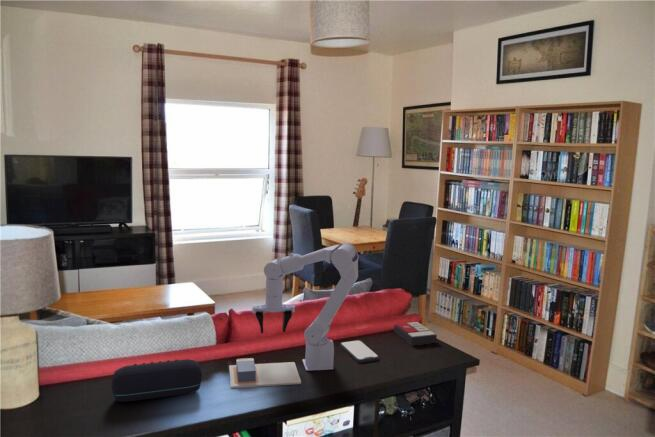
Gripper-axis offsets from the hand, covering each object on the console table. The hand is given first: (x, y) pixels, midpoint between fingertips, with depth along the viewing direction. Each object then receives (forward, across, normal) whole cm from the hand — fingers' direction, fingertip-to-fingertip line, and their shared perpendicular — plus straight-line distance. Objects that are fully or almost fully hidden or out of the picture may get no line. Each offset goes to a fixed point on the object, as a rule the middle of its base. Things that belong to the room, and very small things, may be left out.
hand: (272, 331), depth 181 cm
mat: (+9, +4, +13) cm, 17 cm away
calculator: (+10, -58, -11) cm, 60 cm away
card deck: (+9, +10, +13) cm, 19 cm away
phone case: (+10, -32, 0) cm, 33 cm away
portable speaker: (+10, +36, +21) cm, 43 cm away
